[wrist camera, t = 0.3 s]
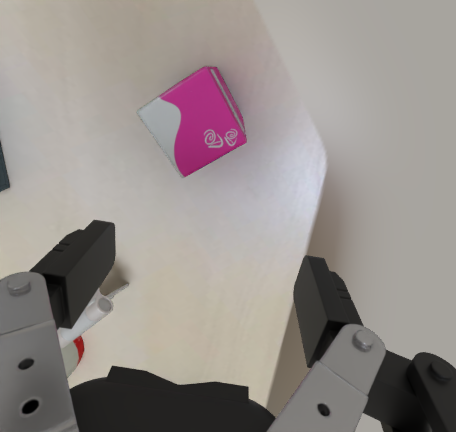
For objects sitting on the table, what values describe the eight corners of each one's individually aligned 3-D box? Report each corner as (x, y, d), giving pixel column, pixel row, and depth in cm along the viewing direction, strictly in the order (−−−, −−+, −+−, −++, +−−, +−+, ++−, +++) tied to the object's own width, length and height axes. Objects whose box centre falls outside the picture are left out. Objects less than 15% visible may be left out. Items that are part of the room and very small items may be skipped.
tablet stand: (93, 237, 38) (57, 278, 30) (139, 276, 40) (116, 323, 33) (54, 272, 41) (11, 318, 33) (99, 307, 43) (69, 357, 35)
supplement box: (198, 146, 32) (179, 181, 22) (167, 95, 30) (130, 107, 20) (245, 119, 31) (248, 143, 21) (216, 64, 29) (203, 59, 19)
